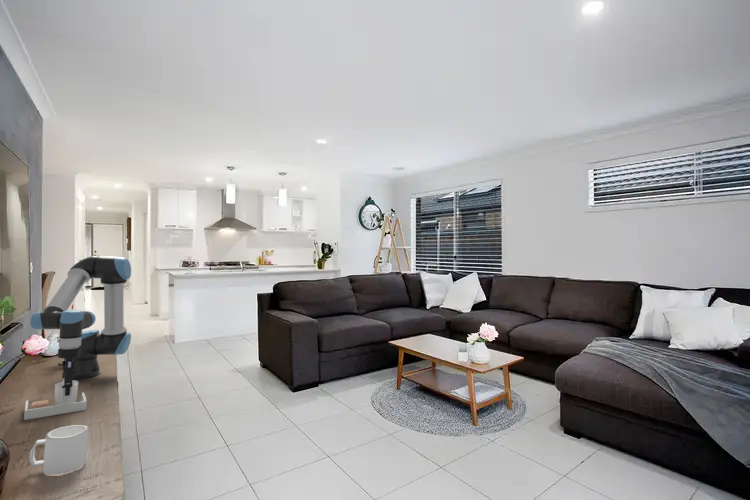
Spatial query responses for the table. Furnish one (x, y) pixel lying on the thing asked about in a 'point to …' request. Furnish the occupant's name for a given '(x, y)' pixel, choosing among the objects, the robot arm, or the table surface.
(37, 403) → the salmon pink block
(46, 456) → the mug
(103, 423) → the table surface
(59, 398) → the white cup
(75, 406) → the frame
